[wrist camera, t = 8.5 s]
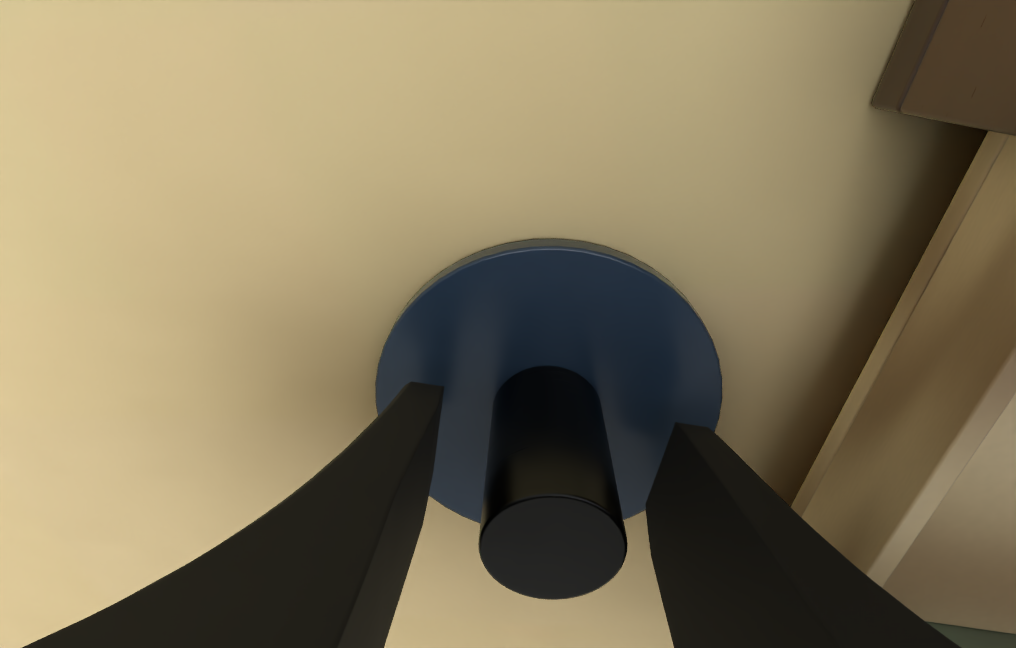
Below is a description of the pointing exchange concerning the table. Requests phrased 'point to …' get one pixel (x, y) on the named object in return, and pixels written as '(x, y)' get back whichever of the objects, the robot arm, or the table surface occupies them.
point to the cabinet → (955, 65)
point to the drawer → (938, 426)
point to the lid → (552, 400)
